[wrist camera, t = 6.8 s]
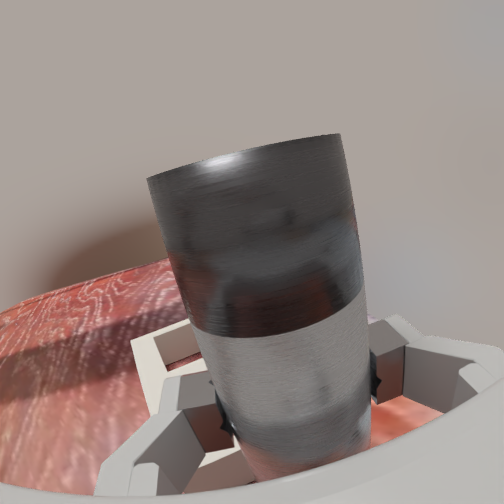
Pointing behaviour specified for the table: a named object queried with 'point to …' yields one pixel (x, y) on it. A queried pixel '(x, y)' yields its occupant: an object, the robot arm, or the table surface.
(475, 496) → the robot arm
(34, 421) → the table surface
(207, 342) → the black-capped cylinder
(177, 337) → the socket board
